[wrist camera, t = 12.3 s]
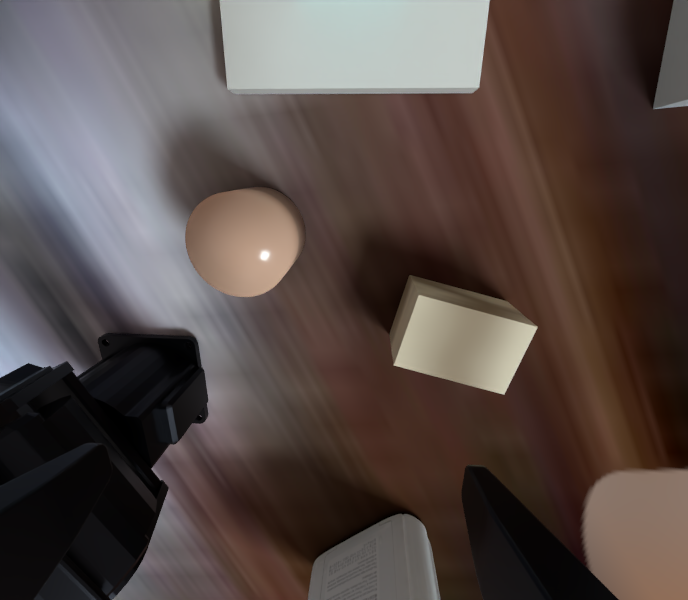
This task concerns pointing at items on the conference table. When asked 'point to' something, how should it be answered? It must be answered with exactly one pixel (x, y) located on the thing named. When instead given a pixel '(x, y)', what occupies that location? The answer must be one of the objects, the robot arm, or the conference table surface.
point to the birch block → (459, 335)
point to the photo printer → (378, 565)
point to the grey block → (674, 61)
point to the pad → (353, 46)
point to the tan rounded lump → (245, 240)
